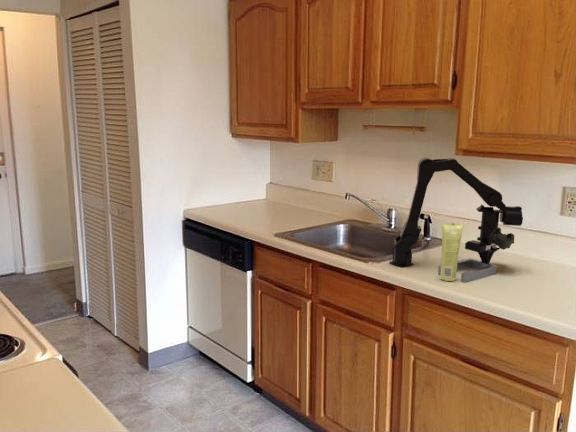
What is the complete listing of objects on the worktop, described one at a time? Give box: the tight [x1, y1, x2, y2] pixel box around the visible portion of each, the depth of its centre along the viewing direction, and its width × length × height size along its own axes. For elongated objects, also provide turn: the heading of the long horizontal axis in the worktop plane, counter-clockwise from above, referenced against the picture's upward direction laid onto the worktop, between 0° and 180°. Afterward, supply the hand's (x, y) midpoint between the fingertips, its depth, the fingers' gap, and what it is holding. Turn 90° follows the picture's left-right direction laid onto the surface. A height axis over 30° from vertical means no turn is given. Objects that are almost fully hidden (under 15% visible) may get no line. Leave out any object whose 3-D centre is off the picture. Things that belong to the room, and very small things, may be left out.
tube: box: [439, 222, 464, 282], centre depth 177 cm, size 6×5×20 cm
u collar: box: [437, 257, 498, 284], centre depth 185 cm, size 11×18×3 cm, turn 125°
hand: (485, 266), depth 191 cm, fingers closed
